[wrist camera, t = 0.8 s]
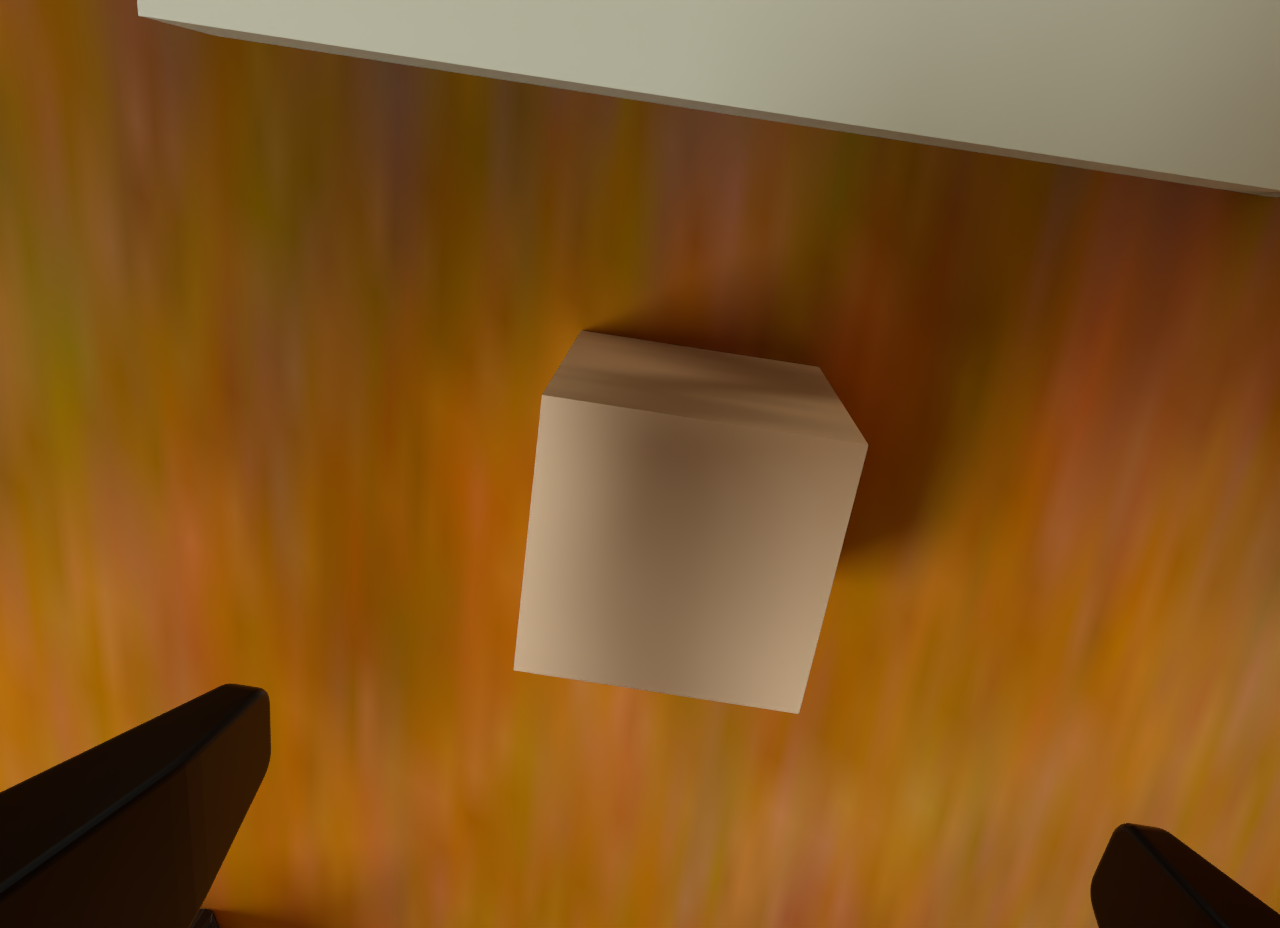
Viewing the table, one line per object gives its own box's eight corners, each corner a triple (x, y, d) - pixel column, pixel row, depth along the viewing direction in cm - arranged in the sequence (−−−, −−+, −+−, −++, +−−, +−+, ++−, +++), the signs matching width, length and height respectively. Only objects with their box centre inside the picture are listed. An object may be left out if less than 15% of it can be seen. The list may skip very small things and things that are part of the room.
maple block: (818, 366, 17) (868, 444, 12) (770, 575, 19) (798, 713, 14) (581, 329, 17) (542, 395, 12) (556, 542, 19) (513, 669, 14)
